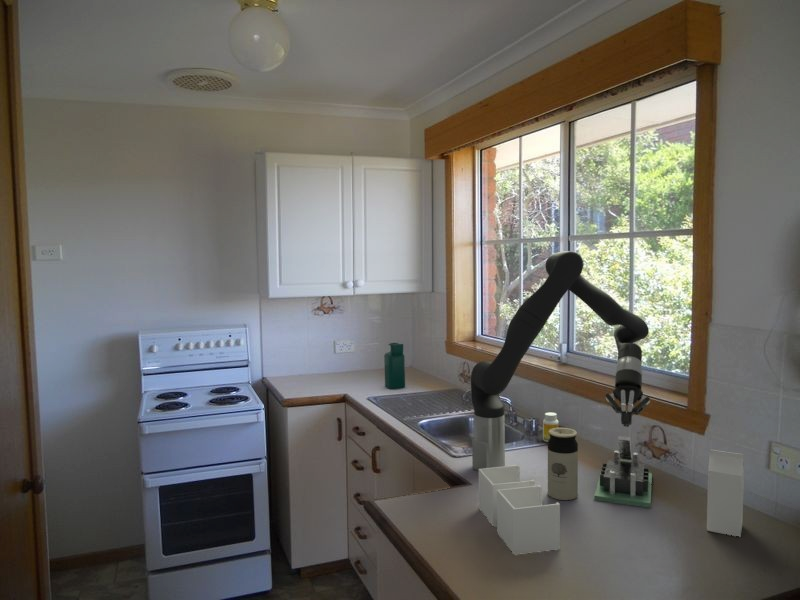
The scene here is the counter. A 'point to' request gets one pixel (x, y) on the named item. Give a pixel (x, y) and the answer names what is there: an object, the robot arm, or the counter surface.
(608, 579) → the counter surface
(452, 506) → the counter surface
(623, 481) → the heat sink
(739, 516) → the milk carton
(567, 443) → the travel mug
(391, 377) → the green bottle
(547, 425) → the supplement bottle
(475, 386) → the robot arm
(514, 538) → the white divided organizer
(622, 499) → the circuit board
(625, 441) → the retention strap
